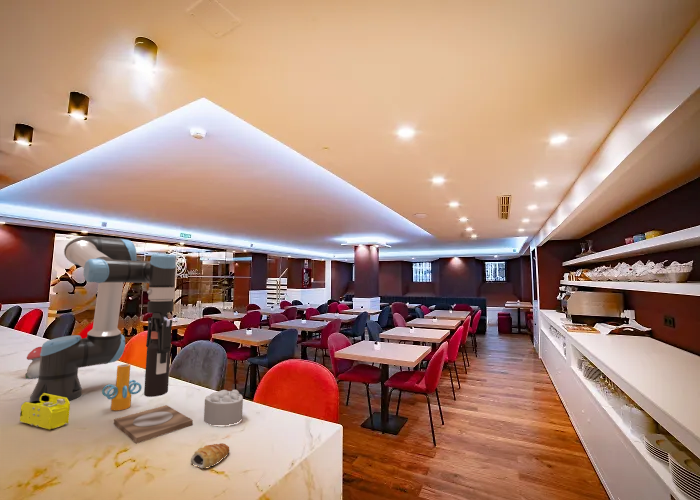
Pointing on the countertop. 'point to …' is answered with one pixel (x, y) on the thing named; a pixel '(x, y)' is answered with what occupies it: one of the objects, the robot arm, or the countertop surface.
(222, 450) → the pastry
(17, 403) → the countertop surface
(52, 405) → the yellow toy chassis
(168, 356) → the vinegar
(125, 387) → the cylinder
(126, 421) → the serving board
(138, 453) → the countertop surface
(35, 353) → the decorative ornament
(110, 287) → the robot arm
